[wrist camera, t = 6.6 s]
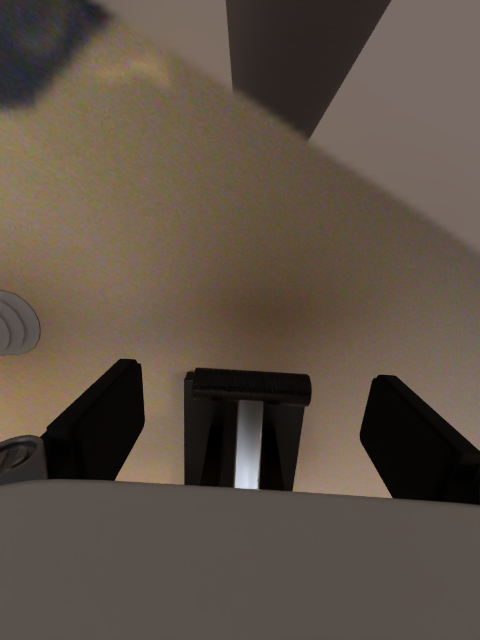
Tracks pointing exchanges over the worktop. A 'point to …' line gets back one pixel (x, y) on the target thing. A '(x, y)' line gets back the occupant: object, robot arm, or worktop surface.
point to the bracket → (220, 441)
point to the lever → (250, 408)
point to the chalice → (17, 325)
